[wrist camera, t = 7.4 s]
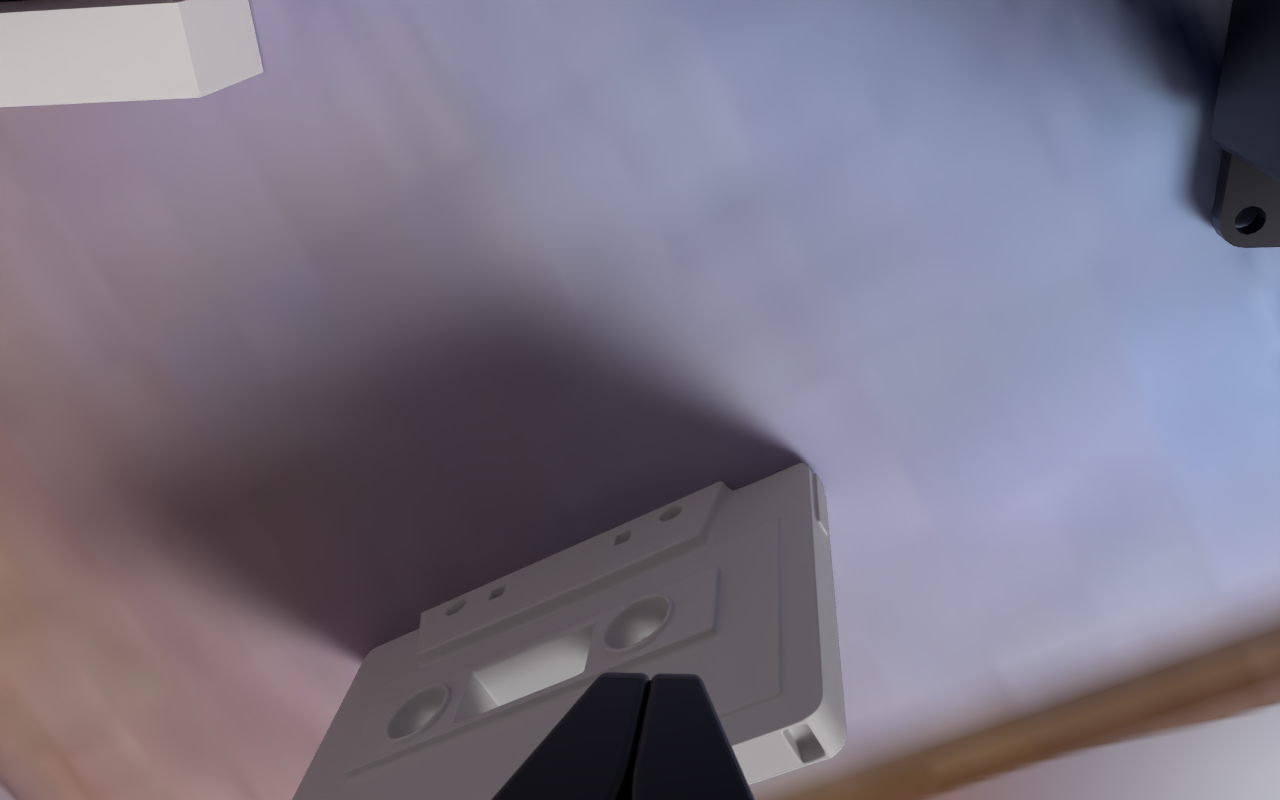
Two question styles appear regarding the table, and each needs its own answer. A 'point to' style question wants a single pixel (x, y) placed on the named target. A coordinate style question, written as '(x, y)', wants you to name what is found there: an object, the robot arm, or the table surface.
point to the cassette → (609, 648)
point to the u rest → (123, 50)
